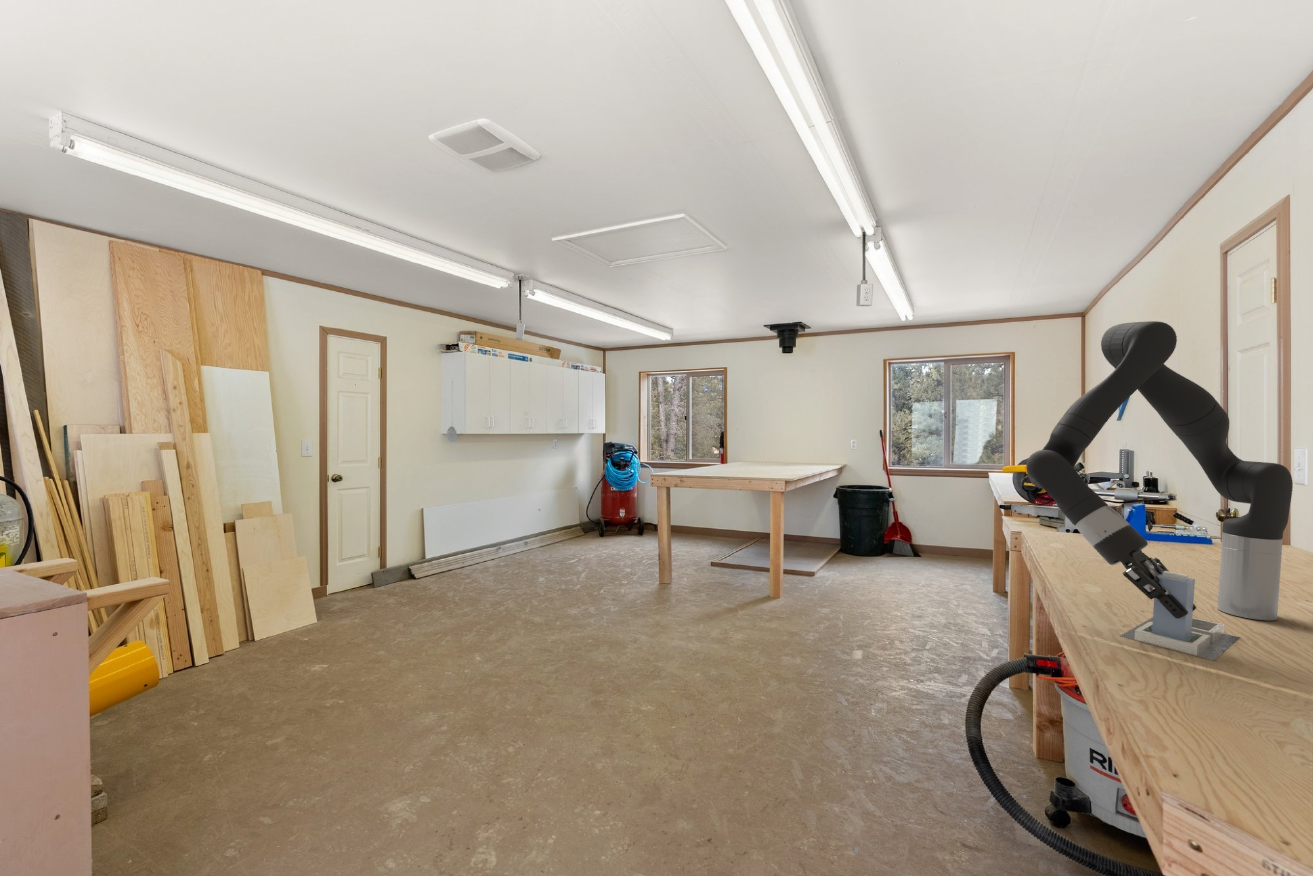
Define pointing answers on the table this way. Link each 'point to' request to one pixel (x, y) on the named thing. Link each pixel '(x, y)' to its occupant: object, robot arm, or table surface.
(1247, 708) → the table surface
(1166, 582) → the plug
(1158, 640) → the panel
